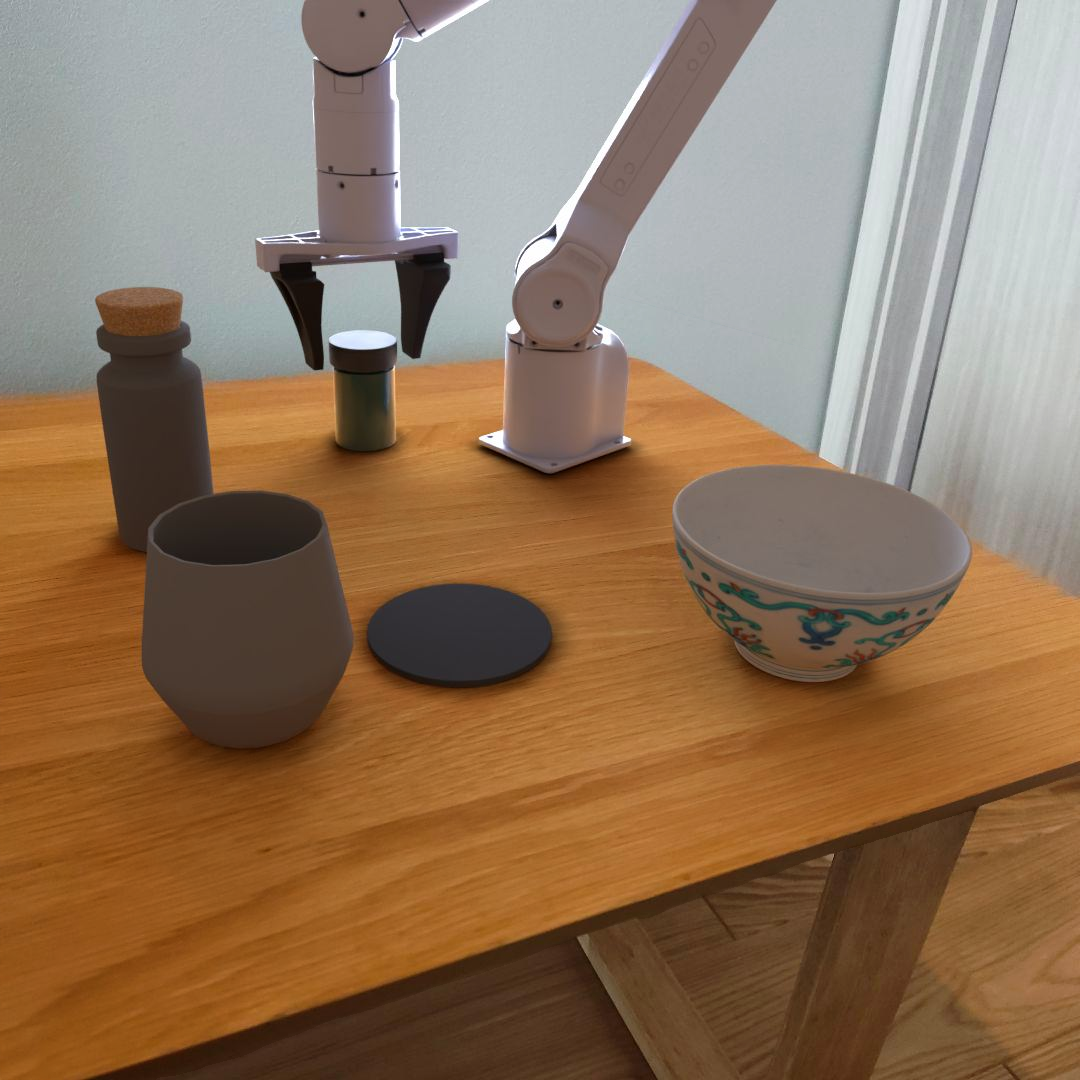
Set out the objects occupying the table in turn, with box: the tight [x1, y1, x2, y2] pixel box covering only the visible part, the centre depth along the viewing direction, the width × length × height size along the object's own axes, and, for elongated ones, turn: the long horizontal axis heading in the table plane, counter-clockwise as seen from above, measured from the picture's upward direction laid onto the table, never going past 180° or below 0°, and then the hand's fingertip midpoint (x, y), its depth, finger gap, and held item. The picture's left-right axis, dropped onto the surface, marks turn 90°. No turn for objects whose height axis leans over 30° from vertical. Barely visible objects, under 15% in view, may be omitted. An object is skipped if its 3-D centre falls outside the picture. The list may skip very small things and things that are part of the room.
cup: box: [141, 490, 355, 750], centre depth 48 cm, size 10×9×10 cm
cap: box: [328, 329, 398, 372], centre depth 79 cm, size 5×5×2 cm
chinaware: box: [671, 464, 973, 683], centre depth 56 cm, size 15×15×8 cm
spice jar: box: [332, 365, 397, 452], centre depth 80 cm, size 5×5×8 cm
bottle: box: [94, 286, 215, 553], centre depth 63 cm, size 6×6×15 cm
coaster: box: [366, 583, 553, 688], centre depth 58 cm, size 10×10×1 cm
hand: (364, 360), depth 79 cm, fingers open, 7 cm apart
